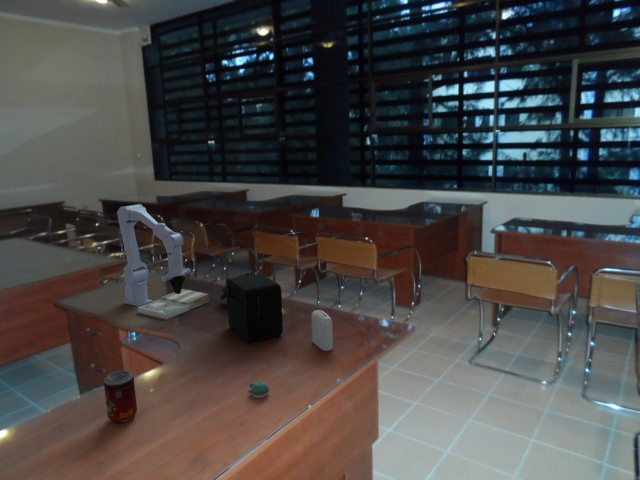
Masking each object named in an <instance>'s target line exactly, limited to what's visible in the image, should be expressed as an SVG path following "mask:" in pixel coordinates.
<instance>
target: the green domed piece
mask: <svg viewBox="0 0 640 480" xmlns="http://www.w3.org/2000/svg"><path fill="white" fill-rule="evenodd" d="M249 388H251V389H248V393H249V394H251V395H252V396H253V398H256V399H261V398H265V397H267V396H268V395H269V391H270V389H269V385H268V384H267V383H265V382H262V381H260V382H258V381H255V382H252V383H250V384H249Z"/></svg>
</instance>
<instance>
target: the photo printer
mask: <svg viewBox="0 0 640 480" xmlns="http://www.w3.org/2000/svg"><path fill="white" fill-rule="evenodd" d="M333 339H334V335H333V320H332V317H330V315H328V313H326V312H325V311H323V310H320V309H317V310H313V311H312V313H311V340H312V343H313V344H314V345H316V346H317V347H318V348H319V349H321V350H322V351H325V352H329V351H332V349H333V347H334V341H333Z"/></svg>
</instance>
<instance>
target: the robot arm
mask: <svg viewBox="0 0 640 480" xmlns="http://www.w3.org/2000/svg"><path fill="white" fill-rule="evenodd" d="M116 215H117V220H118V224H119V228H120V229H119V230H120V233H121V237H122V242H123V247H124V252H125V256H126V261H127V264H126V266H125V267H124V268H123V280H124V282H125V284H126V285H125V286H124V296H125V297H124V298H125V301H124V304H126V305H131V306H135V307H140V306H143V305H146V304H149V303H151V302H153V300H152V299H149V298H148V288H147V283H148V280H149V279H150V276H151V275H150V272H149V269H148V267H147V264H146V263H144V262H143V261H141V257H140V256H141V255H140V251H139V246H138V242H137V238H136V237H137V236H136V233H135V228H134V227H135V225H136V224H137V223H138V222H142V223H143V224H144V225H145V226H147V227H148V228H150V229H152V234H153V235H155V237H157V238H158V239H159V240H161V241H162V243H163V246H164V248H165V251H166V254H167V265H168V272H167V273H165V274H164V275H162V276H160V279H161V281H160V282H167V281H168V282H169V283H170V284H171V287H172V289H173V293H174V292H175V294H180V293H181V290H182V289H183V285H184V284H183V283H184V282H185V279H186V277H185V275H187V274H191V273H192V271H191V268H188V267H187V268H184V267H183V266H184V264H183V252H182V249H183V248H182V246H183V245H184V243H185V239H184V236H183V235H182V234H181V233H180V232H175V231H174V230H172V229H171V228H169V227H168V226H167V225H166V223H163V222H158V221H156V219H154V217H152V215H150V214H149V213H148V211H147V208H146V207H145V206H143V205H142V204H141V203H138V204H132V205H126V206H120V207H119V208H118V210H117V212H116Z"/></svg>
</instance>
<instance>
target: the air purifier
mask: <svg viewBox="0 0 640 480" xmlns="http://www.w3.org/2000/svg"><path fill="white" fill-rule="evenodd" d="M225 286H226V288H227V299H226V302H227V304H226V305H227V316H228V317H227V318H228V320H227V321H228V325H229V328H230V329H231V330H232V331H233V332H234V333H235V334H236V335H237V336H238V337H239V338H241V340H243V342H245V343H246V344H250V343H254V342H258V341H264V340H267V339H271V338H275V337H279V336H281V335H282V334H283V330H284V321H283V317H284V315H283V296H282V295H283V293H282V287H281V285H280V284H279V283H278V282H276V281H275V280H272V279H271V278H269V277H267V276H265V275H264V274H262V273H258V272H257V273H254V274H252V275H246V276H240V277H237V276H235V277H230V278H227V279H226V281H225Z"/></svg>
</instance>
